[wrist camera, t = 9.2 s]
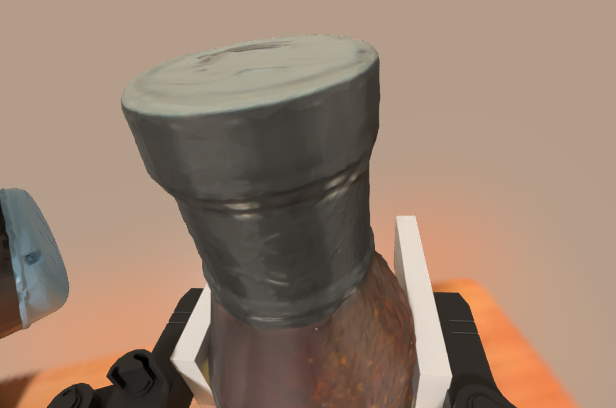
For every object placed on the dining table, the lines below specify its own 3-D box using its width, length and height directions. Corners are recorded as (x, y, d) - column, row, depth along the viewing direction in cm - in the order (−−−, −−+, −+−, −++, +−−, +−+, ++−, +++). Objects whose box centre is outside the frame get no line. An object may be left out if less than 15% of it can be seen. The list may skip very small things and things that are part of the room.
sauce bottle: (314, 384, 20) (245, 25, 9) (415, 440, 17) (497, 10, 6) (247, 506, 16) (-43, 99, 5) (368, 608, 13) (359, 169, 2)
